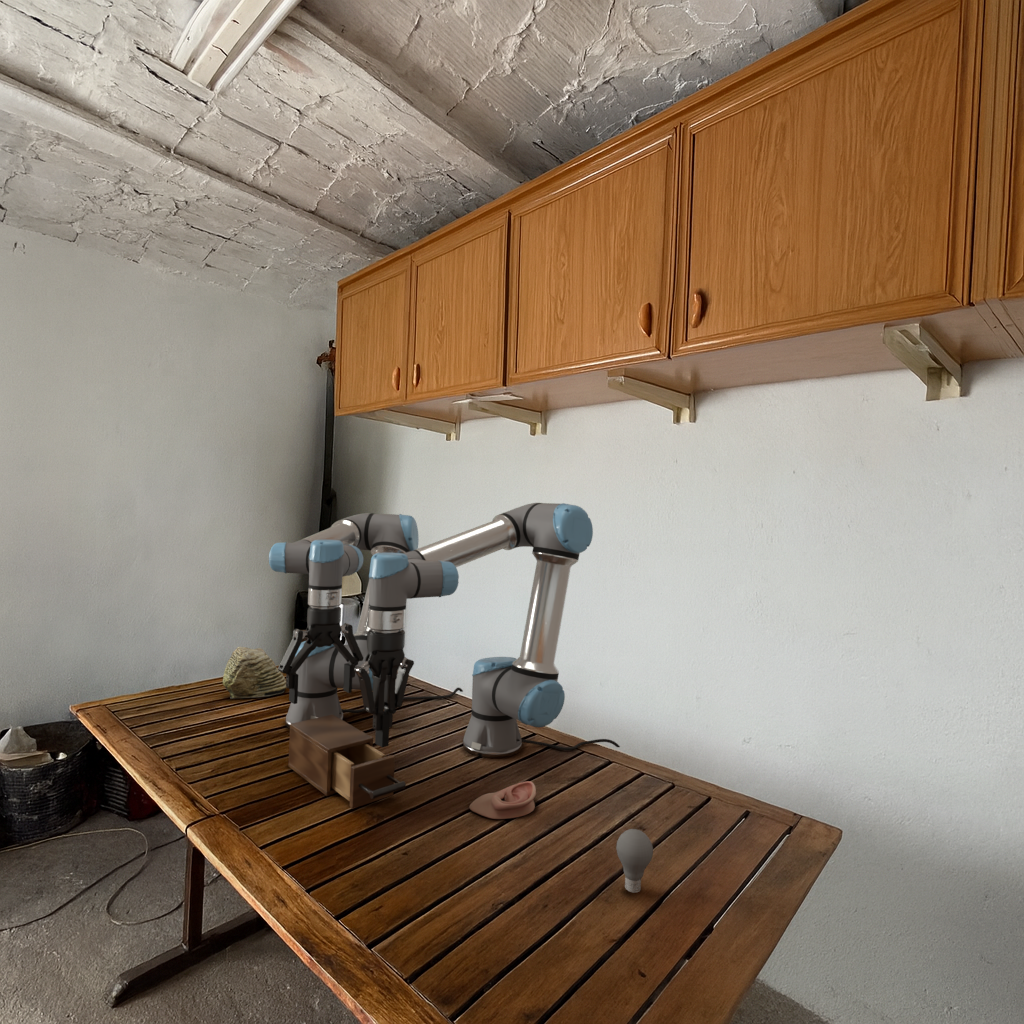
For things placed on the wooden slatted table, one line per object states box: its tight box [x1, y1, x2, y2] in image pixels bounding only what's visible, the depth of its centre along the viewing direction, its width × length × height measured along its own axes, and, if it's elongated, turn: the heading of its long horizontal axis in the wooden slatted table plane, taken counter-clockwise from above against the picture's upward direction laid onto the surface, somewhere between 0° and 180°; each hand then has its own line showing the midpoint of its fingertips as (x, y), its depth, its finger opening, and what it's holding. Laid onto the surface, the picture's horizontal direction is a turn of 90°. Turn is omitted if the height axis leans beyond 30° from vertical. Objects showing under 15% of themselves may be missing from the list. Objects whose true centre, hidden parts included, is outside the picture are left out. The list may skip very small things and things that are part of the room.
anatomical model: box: [468, 780, 537, 820], centre depth 133 cm, size 13×4×12 cm
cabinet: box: [288, 715, 374, 797], centre depth 145 cm, size 19×11×10 cm, turn 44°
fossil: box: [222, 646, 287, 699], centre depth 198 cm, size 9×18×15 cm, turn 132°
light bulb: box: [615, 828, 654, 894], centre depth 106 cm, size 6×6×10 cm
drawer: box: [330, 743, 407, 810], centre depth 135 cm, size 24×10×8 cm, turn 44°
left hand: (321, 696), depth 148 cm, fingers open, 13 cm apart
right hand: (381, 744), depth 129 cm, fingers closed
